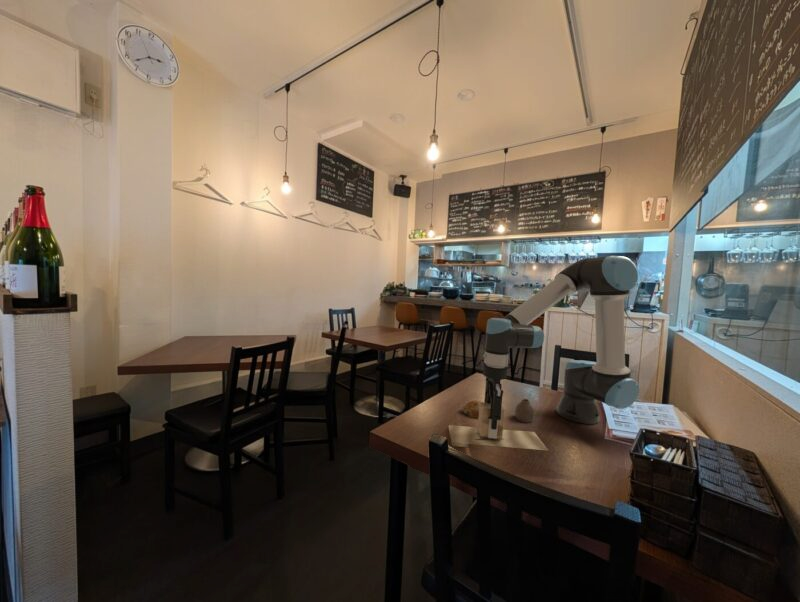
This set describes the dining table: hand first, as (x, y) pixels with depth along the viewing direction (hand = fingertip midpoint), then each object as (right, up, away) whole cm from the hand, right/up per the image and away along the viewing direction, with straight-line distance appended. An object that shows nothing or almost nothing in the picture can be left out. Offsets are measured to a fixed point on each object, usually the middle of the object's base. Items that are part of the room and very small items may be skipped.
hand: (490, 433), depth 103 cm
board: (+2, -2, 0) cm, 3 cm away
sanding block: (0, -1, 0) cm, 1 cm away
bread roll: (0, -2, +19) cm, 19 cm away
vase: (+18, -3, +16) cm, 24 cm away
